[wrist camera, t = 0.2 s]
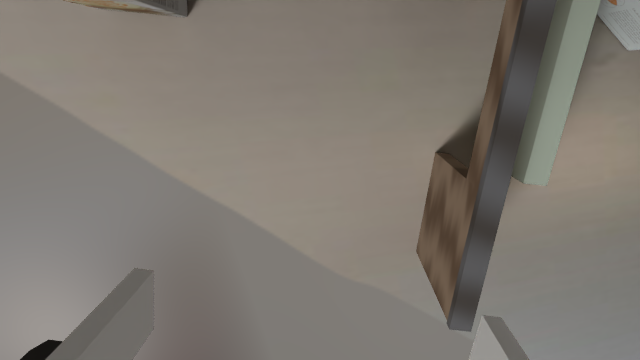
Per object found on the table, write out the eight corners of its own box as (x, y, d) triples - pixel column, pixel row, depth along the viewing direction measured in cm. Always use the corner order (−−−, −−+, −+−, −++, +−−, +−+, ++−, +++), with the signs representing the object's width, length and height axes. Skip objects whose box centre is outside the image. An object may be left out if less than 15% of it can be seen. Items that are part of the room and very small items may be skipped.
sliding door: (520, -5, 36) (580, -27, 27) (554, -2, 36) (624, -23, 27) (483, 158, 41) (523, 183, 32) (512, 161, 41) (560, 187, 32)
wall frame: (479, -82, 35) (568, -171, 21) (498, -80, 35) (600, -168, 21) (415, 251, 45) (449, 329, 31) (430, 252, 45) (471, 331, 31)
